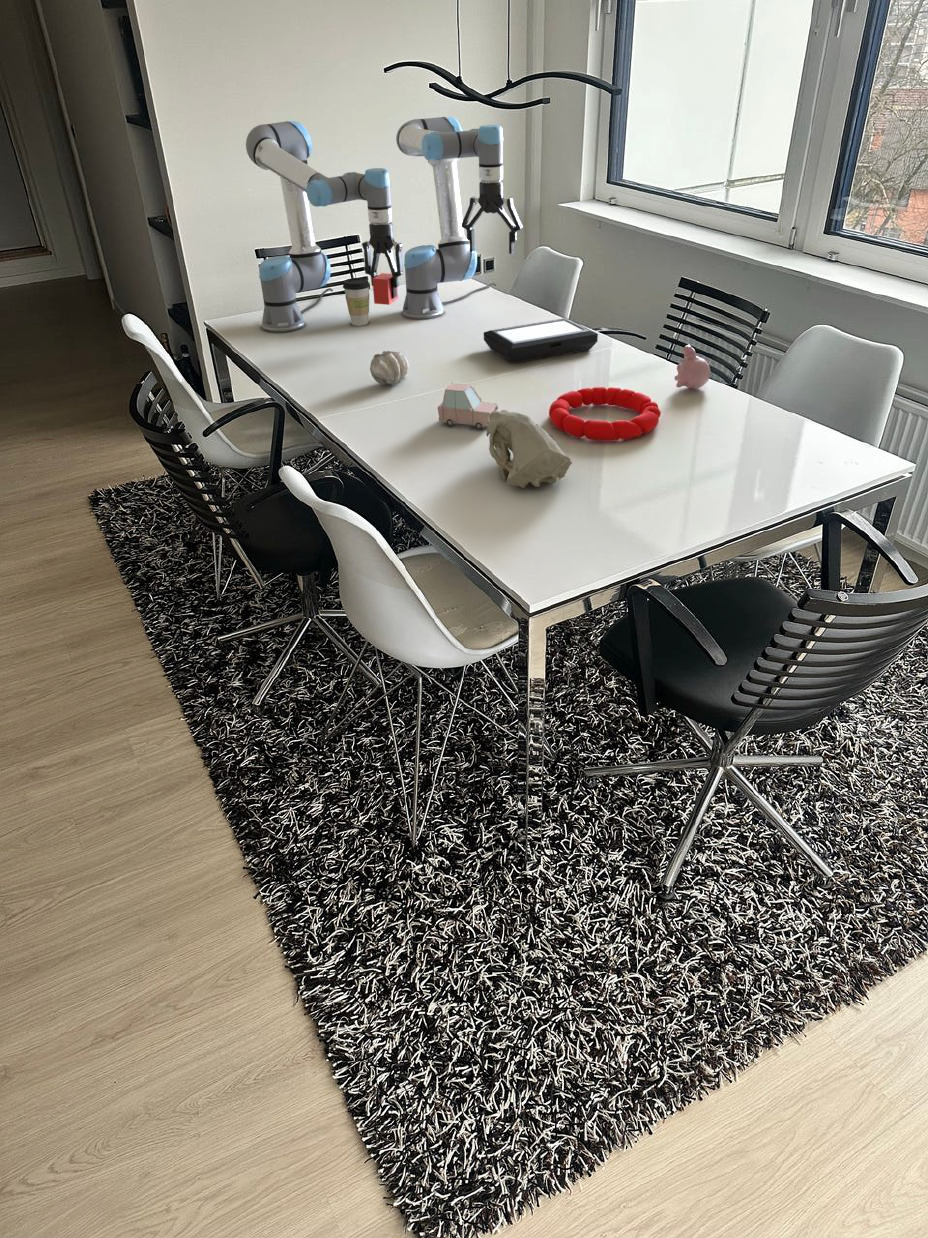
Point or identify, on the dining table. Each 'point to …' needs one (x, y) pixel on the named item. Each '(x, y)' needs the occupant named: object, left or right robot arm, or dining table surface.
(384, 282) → the block
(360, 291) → the coffee cup
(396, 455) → the dining table surface
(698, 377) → the figurine
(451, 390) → the toy car
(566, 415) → the decorative ring
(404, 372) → the seashell
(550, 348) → the electronic device
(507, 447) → the animal skull
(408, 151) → the right robot arm
